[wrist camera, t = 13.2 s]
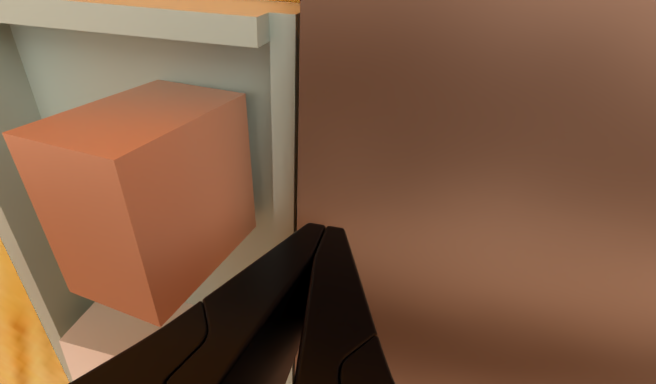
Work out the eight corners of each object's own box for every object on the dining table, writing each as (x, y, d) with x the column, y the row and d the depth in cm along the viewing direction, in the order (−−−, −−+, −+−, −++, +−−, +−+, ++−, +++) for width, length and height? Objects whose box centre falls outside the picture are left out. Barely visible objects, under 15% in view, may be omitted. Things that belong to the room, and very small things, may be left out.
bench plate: (555, 467, 19) (577, 547, 16) (308, 411, 20) (293, 476, 18) (895, -2, 8) (1109, 15, 6) (330, -39, 10) (300, -38, 7)
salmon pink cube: (160, 327, 10) (69, 291, 10) (256, 226, 13) (182, 206, 14) (113, 160, 7) (1, 132, 8) (245, 93, 11) (158, 79, 12)
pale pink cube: (82, 407, 17) (125, 348, 19) (180, 435, 16) (212, 372, 19) (58, 340, 14) (111, 283, 17) (173, 372, 14) (210, 308, 17)
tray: (302, 410, 20) (286, 475, 18) (129, 371, 22) (91, 426, 19) (317, 4, 10) (285, 19, 8) (-6, -22, 12) (-122, -16, 9)
